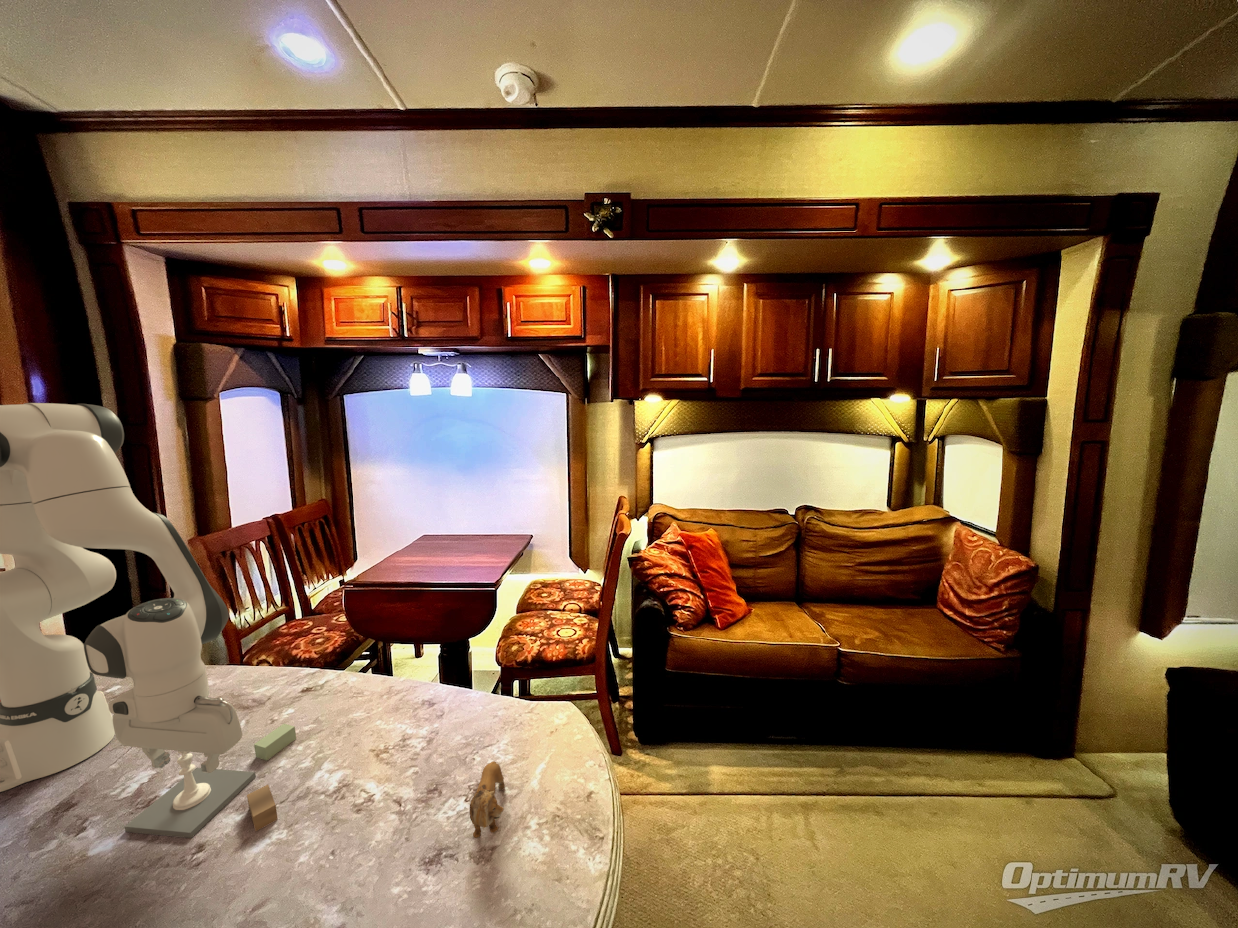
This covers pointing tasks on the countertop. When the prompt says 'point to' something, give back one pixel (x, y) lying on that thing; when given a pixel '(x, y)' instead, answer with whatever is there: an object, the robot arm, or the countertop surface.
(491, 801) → the lion figurine
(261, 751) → the sage brick
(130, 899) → the countertop surface
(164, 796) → the slate tile
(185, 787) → the chess piece
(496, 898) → the countertop surface
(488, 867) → the countertop surface
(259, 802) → the walnut brick
